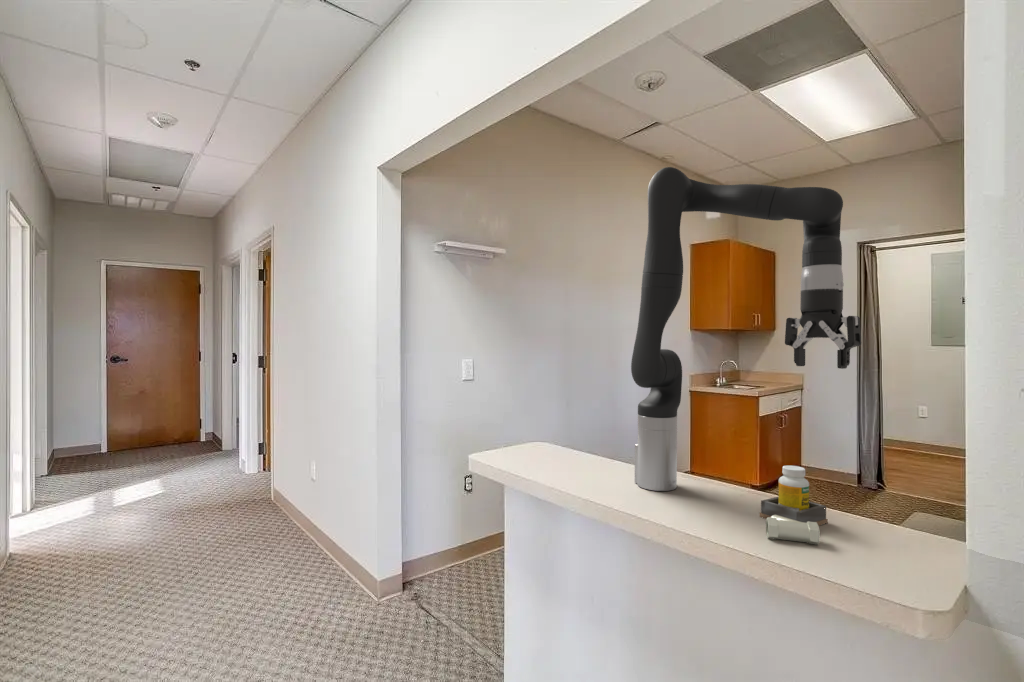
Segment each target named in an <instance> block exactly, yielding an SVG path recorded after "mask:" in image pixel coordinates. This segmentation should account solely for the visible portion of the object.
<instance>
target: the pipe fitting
mask: <svg viewBox="0 0 1024 682" xmlns="http://www.w3.org/2000/svg"><path fill="white" fill-rule="evenodd" d="M765 533H766V534H765V535H766V538H767V539H769V540H776V539H777V540H783V541H784V540H785V541H793V542H799V543H807V544H809V545H820V542H821V541H820V540H821V533H820V525H819V526H818V524H817V522H807V523H804V522H799V521H796V520H792V519H789V518H785V517H782V516H778V515H773V516H771V517H768V518H767V519H765Z"/></svg>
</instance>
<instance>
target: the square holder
mask: <svg viewBox="0 0 1024 682" xmlns="http://www.w3.org/2000/svg"><path fill="white" fill-rule="evenodd" d="M778 503H779V496H774V497H771V498H767V499H762V500H760V512H759V513H758V515H759V518H762V517H763V518H762V519H764V520H766V519H767V518H768V517H771V516H773V515H778V516H782V517H785V518H789V519H792V520H796V521H799V522H804V523H807V522H817V524H818V526H819V527H820V526H823V525H826V524H828V523H829V521H828V518H827V505H823V504H820V503H817V502H814V501H810V500H809V508H808V509H804V510H801V511H798V510H795V509H791V508H788V507H785V506H782V505H778ZM824 508H825V509H824ZM825 523H826V524H825ZM822 524H823V525H822Z"/></svg>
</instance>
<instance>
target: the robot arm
mask: <svg viewBox="0 0 1024 682" xmlns="http://www.w3.org/2000/svg"><path fill="white" fill-rule="evenodd" d="M647 187H648V188H647V220H648V221H647V235H646V240H645V241H646V243H645V251H644V259H643V260H644V261H643V268H642V269H643V270H642V278H641V291H640V292H641V293H640V294H641V295H640V304H639V313H638V322H637V331H636V335H635V340H634V345H633V351H632V354H631V355H632V356H631V364H630V372H631V375H632V380H633V381H634V383H635V384H636V385H637V386H638V387H641V388H644V389H648V388H649V389H650V391H649V394H648V395H647V396H646V397H645V398H644V399H643V400H641V401H640V402H639V403H638V404H637V443H636V444H634V483H635V484H636V485H637V486H638V487H639V488H642V489H645V490H650V491H656V492H657V491H658V492H667V491H674V490H676V489H677V485H678V484H677V482H678V481H677V480H678V477H677V476H678V409H679V406H680V405H681V400H682V388H683V387H682V385H683V364H682V360H681V359H680V357H679V355H678V354H677V353H676V352H675V351H673V350H672V349H667V348H663V349H662V340H663V339H662V338H663V333H664V330H665V327H666V325H667V323H668V322H669V319H670V317H671V316H672V314H673V313H674V311H675V309H676V307H677V305H678V303H679V301H680V298H681V295H682V289H683V288H682V287H683V278H684V258H683V249H682V242H681V222H682V215H683V214H682V213H689V212H692V213H693V212H701V213H702V212H703V213H704V212H705V213H706V212H707V213H719V214H725V215H733V216H740V217H745V218H746V217H747V218H751V219H752V218H753V219H759V220H767V221H783V220H785V219H786V220H794V221H795V220H797V221H802V226H803V227H802V228H803V245H802V255H801V258H802V259H801V275H800V313H801V316H800V317H799V318H797V317H786V321H785V335H784V344H785V345H786V346H789V347H792V348H793V362H794V364H795V365H796V367H805V366H806V345H807V344H808V343H809V342H811V340H812V339H814V338H816V339H819V338H823V339H827V338H828V339H830V340H831V341H832V342H834V343H835V344H836V346H837V348H838V349H837V353H836V355H837V356H836V357H837V358H836V360H837V361H836V362H837V364H836V366H837V367H836V368H837V369H842V370H845V369H847V368H848V366H849V365H850V364H851V358H850V357H851V349H853V348H856V347H861V345H862V332H861V318H860V316H859V315H858V316H857V315H848V316H844V315H843V310H844V274H843V265H842V263H843V260H842V259H843V250H842V248H843V247H842V241H841V238H840V237H841V224H842V211H843V207H844V200H843V198H842V196H841V194H840V193H838V191H836V190H834V189H832V188H827V187H820V186H800V187H799V186H798V187H784V186H783V187H782V186H776V185H768V184H767V185H766V184H754V183H749V184H748V183H743V184H741V183H739V184H738V183H737V184H714V183H708V182H707V183H706V182H704V181H703V182H702V181H699V180H695V179H692V178H689V177H688V176H687V175H686V174H685V173H684V172H683V171H682V170H680V169H678V168H676V167H673V166H665V167H663V168H661V169H659V170H658V171H656V172H655V173H654V175H652V178H651V179H650V181H649V183H648V186H647ZM843 325H844V326H845V327H846V330H847V331H846V332H847V333H846V334H847V336H846V335H845V333H844V332H843V330H841V327H842V326H843ZM800 326H801V328H802V329H801V331H800V332H799V331H798V329H799V328H800ZM798 332H799V333H798Z"/></svg>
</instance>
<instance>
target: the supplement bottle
mask: <svg viewBox="0 0 1024 682" xmlns="http://www.w3.org/2000/svg"><path fill="white" fill-rule="evenodd" d="M781 473H782V475H781V476H780V477H779V478H778V497H779V503H778V505H782V506H785V507H788V508H791V509H795V510H798V511H801V510H804V509H808V508H809V501H810V482H809V481H808V479H806V478H805V477H806V468H804V467H803V466H799V465H783V466H782V471H781Z"/></svg>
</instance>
